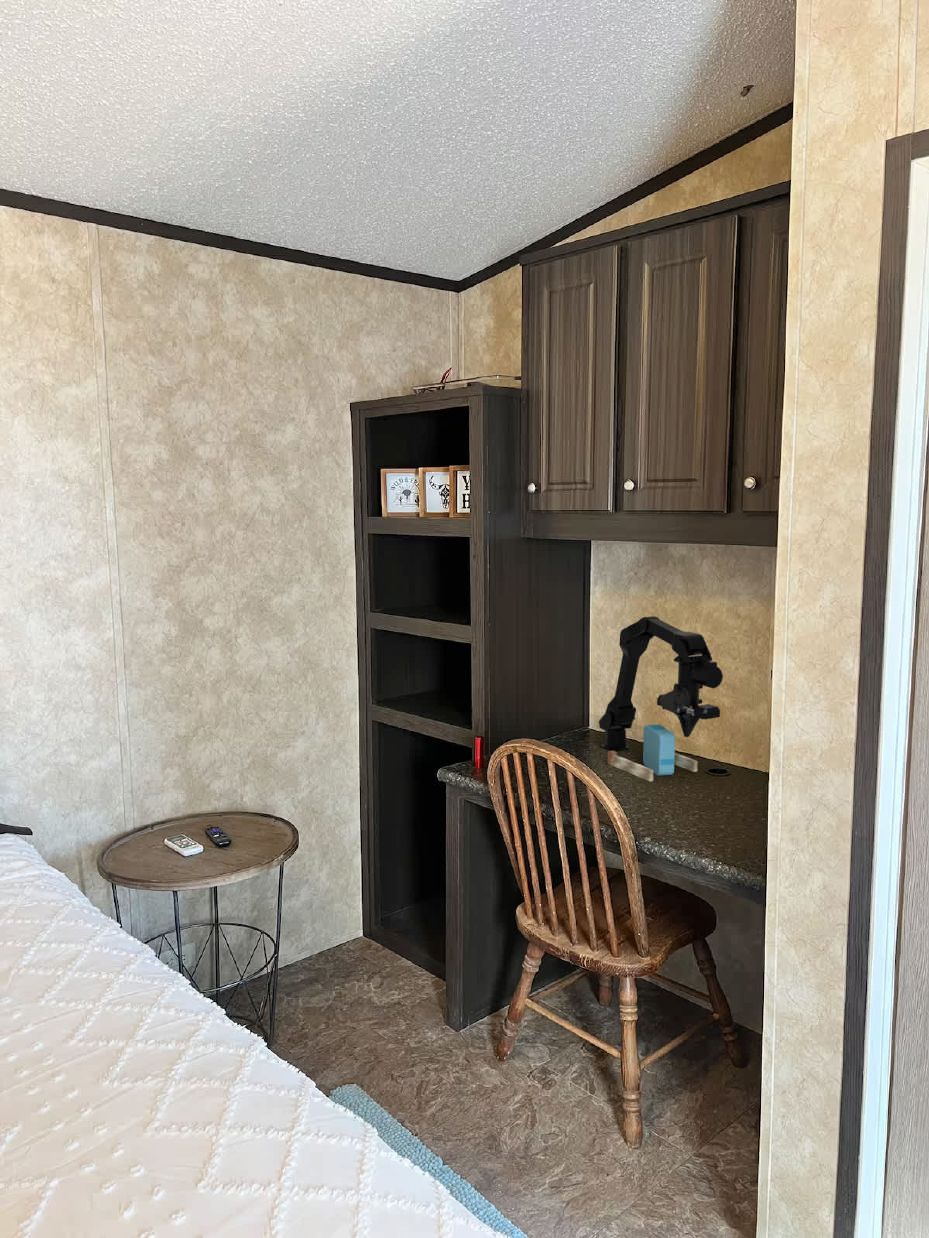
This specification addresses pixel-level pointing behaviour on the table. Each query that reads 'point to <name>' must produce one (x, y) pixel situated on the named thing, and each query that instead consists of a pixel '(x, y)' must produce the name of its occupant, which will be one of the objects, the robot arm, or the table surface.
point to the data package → (659, 749)
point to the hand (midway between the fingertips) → (686, 736)
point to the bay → (644, 771)
